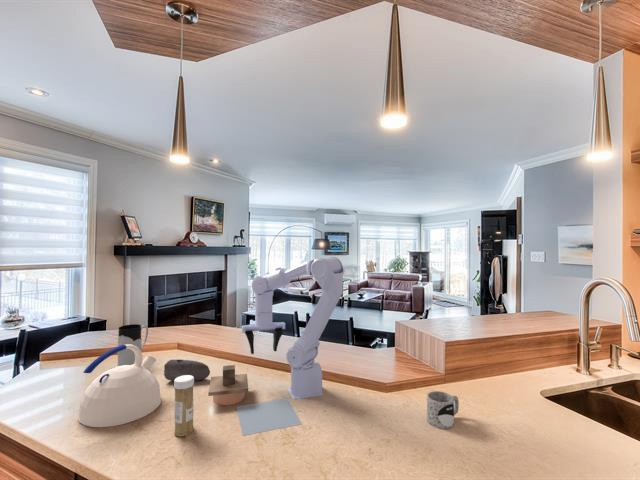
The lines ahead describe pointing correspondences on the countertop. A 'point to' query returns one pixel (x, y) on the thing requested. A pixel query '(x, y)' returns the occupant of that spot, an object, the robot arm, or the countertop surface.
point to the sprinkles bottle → (183, 405)
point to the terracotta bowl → (228, 398)
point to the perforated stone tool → (185, 369)
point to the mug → (441, 409)
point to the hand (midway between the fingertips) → (263, 351)
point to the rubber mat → (267, 416)
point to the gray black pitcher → (130, 342)
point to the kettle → (120, 392)
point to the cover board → (228, 388)
